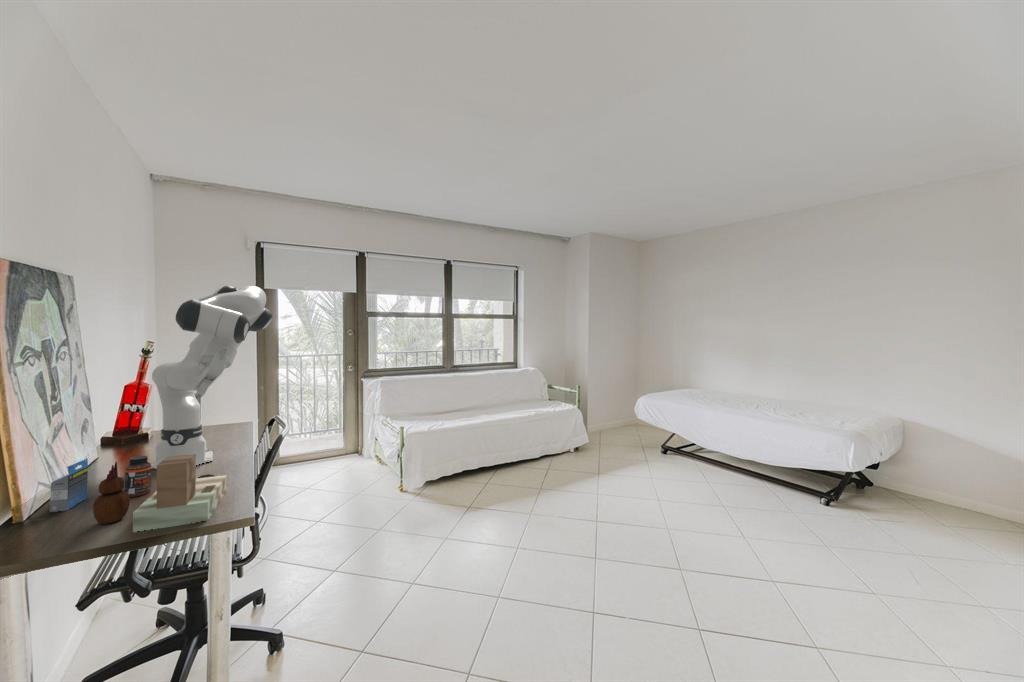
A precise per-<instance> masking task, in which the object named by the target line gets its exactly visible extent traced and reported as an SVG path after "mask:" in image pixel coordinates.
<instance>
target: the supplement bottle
mask: <svg viewBox="0 0 1024 682" xmlns="http://www.w3.org/2000/svg"><path fill="white" fill-rule="evenodd" d="M151 464H152V463H151V462H148V456H147V455H138V456H137V455H136V456H132V457H130V458H129V464H127V465H126V466H125V469H124V491H126V492H127V493H128V495H129V498H135V497H142V496H145V495H147V494H149V493H151V491H152V468H151Z"/></svg>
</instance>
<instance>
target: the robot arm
mask: <svg viewBox="0 0 1024 682" xmlns="http://www.w3.org/2000/svg"><path fill="white" fill-rule="evenodd" d="M266 304H267V294H266V292H265V290H264V289H262V288H261V287H259V286H256V285H246V286H243V287H240V288H238V287H237V286H231V285H224V286H222V287H220V288H218V289H217V290H215V291H214V292H213V294H210V295H207V296H204V297H202V298H199V299H194V298H193V299H189V300H187V301H184V302H183V303H182V304H181V305H180V306H179V308H178V309H177V310H176V313H175V322H176V323H177V325H178V326H179V328H181V329H182V331H185V332H186V331H187V332H192V333H197V334H198V335H196V337H194V338H193V339H192V341H191V342H190V344H189V349H188V352H187V353H186V355H185V356H184V358H183V359H181V360H180V361H167V362H165V363H161V364H159V365H158V366H156V367H155V368H154V369H153V370H152V372H151V379H152V382H153V383H154V384H155V386H156V389H157V391H158V395H159V399H160V403H161V408H162V429H160V439H161V441H160V442H159V443H157V444H156V445H155V451H154V452H155V453H154V463H151V469H155V470H157V465H158V464H159V463H160V462H162V461H163V460H164V459H166V458H167V457H171V456H181V455H192V454H196V465H197V466H199V464H200V465H203V464H202V463H204V464H207V463H206V462H209V463H211V462H210V461H212V460H213V461H214V452H213V451H212V450H209V448H207V440H206V439H205V437H204V436H203V424H202V423H201V414H202V413H201V408H202V407H201V404H200V402H199V401H198V399H197V398H202V397H203V396H204V395H205V394H206V392H207V391H208V389H209V387H210V386H212V384H213V383H215V381H216V380H217V379H219V377H220V376H222V374H223V372H224V371H225V369H227V368H230V367H231V366H232V364H233V362H234V360H235V358H236V355H237V352H238V347H240V346H241V344H242V342H244V341H245V340H246V337H247V335H248V333H249V332H260V331H262V330H264V329H265V328H267V327H268V326H269V325H270V324H271V322H272V320H273V319H272V318H273V313H272V312H271V311H270V309H268V308H267V307H265V306H266ZM195 392H196V393H195ZM213 461H212V462H213Z"/></svg>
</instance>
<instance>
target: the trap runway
mask: <svg viewBox="0 0 1024 682" xmlns="http://www.w3.org/2000/svg"><path fill="white" fill-rule="evenodd" d="M226 491H227V492H228V475H227V474H224V475H217V476H216V475H215V476H214V477H205V478H198V477H196V489H195V495H194V496H193V498H192V499H191V500H190V501H189V503H188V504H187V505H182V506H175V507H167V508H160V509H157V490H156V491H155V492H154V493H153V494H151V495H150V496H149V497H148V498H147V499H145V500H144V502H143V503H142V504H140V505H139V506H138V507H137V508H136V509H134V511H133V512H132V533H138V532H137V531H140V532H145V531H144V530H146V531H152V530H151V529H153V530H159V529H165V528H166V529H167V528H171V527H177V526H178V527H179V526H184V525H191V523H192V524H196V522H198V523H202V522H201V521H205V522H208V521H209V520H210V519H211V517H212V515H213V514H214V513H215V511H214V510H216V509H217V508H218V506H219V504H220V503H221V501H222V499H223V498H224V496H225V495H226V494H227V492H226ZM222 497H223V498H222ZM219 502H220V503H219ZM212 513H213V514H212ZM210 516H211V517H210ZM208 519H209V520H208ZM207 520H208V521H207ZM158 528H159V529H158Z"/></svg>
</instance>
